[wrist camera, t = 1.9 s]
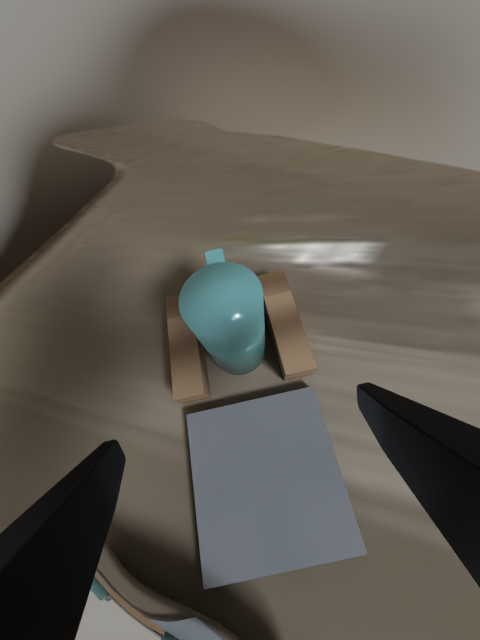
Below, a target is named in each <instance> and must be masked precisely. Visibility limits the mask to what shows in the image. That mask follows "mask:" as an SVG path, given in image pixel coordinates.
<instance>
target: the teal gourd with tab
mask: <svg viewBox="0 0 480 640" xmlns="http://www.w3.org/2000/svg"><path fill="white" fill-rule="evenodd" d="M205 255H206V261H207V266H204V267H202V268H200V269H199V270H197V271H196V272H195V273H193V274H192V275H191V276H190V277H189V278H188V279H187V281H186V282H185V283H184V285H183V287H182V289H181V292H180V295H179V311H180V314H181V316H182V318H183V320H184V321H185V323H186V324H187V325H188V327H189V328H190V329H191V331H192V332H193V333H194V335H195V336H196V337H197V338H198V340H199V341H200V342H201V344H202V345H203V346H204V348H205V349H206V350H207V352H208V353H209V354H210V355H211V357H212V358H213V359H214V361H215V362H216V363H217V365H218V366H219V367H220V368H221V369H222V370H224V371H226V372H228V373H230V374H235V375H241V374H246V373H249V372H251V371H253V370H254V369H256V368H257V367H258V366H259V365H260V363H261V362H262V360H263V358H264V356H265V350H266V346H265V323H264V299H263V289H262V285H261V282H260V281H259V279H258V277H257V276H256V275H255V274H254V273H253V272H252V271H251V270H250V269H248V268H246V267H245V266H243V265H240V264H237V263H232V262H226V261H225V257H224V253H223V249H222V248H220V249H215V250H211V251H207V252H205Z"/></svg>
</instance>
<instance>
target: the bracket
mask: <svg viewBox="0 0 480 640" xmlns="http://www.w3.org/2000/svg"><path fill="white" fill-rule="evenodd" d="M257 277H258V279H259V281H260V282H261V285H262V289H263V299H264V310H265V314H266V317H267V321H268V325H269V328H270V332H271V335H272V339H273V343H274V346H275V350H276V353H277V357H278V361H279V364H280V368H281V371H282V375H283V379H284V381H285V380H290V379H294V378H298V377H303V376H307V375H312V374H313V373H314V371H315V370H316V369H317V366H316V363H315V360H314V357H313V354H312V351H311V348H310V345H309V343H308V340H307V337H306V334H305V331H304V328H303V325H302V322H301V319H300V316H299V314H298V311H297V308H296V305H295V302H294V299H293V296H292V293H291V290H290V288H289V285H288V282H287V279H286V276H285V273H284V270H280V271H276V272H272V273H267V274H263V275H259V276H257ZM179 295H180V294H177V295H173V296H169V297H165V301H166V314H167V326H168V339H169V352H170V364H171V377H172V390H173V400H174V401H177V402H180V403H183V404H184V403H188V402H193V401H197V400H201V399H206V398H210V397H211V394H210V387H209V381H208V374H207V367H206V360H205V353H204V346H203V345H202V344H201V342H200V341H199V340H198V338H197V337H196V336H195V335H194V333H193V332H192V331H191V329H190V328H189V327H188V325H187V324H186V323H185V321H184V320H183V318H182V316H181V314H180V311H179Z"/></svg>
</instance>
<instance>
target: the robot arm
mask: <svg viewBox="0 0 480 640" xmlns="http://www.w3.org/2000/svg"><path fill="white" fill-rule="evenodd" d="M357 400H358V406H359V409H360V411H361V412H362V414H363V416H364V418H365V420H366V421H367V423H368V425H369V427H370V428H371V430H372V432H373V434H374V436H375V437H376V439H377V441H378V443H379V444H380V446H381V448H382V449H383V451H384V452H385V454H386V455H387V457H388V458H389V460H390V461H391V462H392V464H393V465H394V467H395V468H396V469H397V471H398V472H399V474H400V475H401V477H402V478H403V479H404V481H405V482H406V484H407V485H408V486H409V488H410V489H411V491H412V492H413V494H414V495H415V496H416V498H417V499H418V501H419V502H420V504H421V505H422V506H423V508H424V509H425V511H426V512H427V513H428V515H429V516H430V518H431V519H432V521H433V522H434V523H435V525H436V526H437V528H438V529H439V530H440V532H441V533H442V535H443V536H444V538H445V539H446V540H447V542H448V543H449V545H450V546H451V547H452V549H453V550H454V552H455V553H456V555H457V556H458V557H459V559H460V560H461V562H462V563H463V564H464V566H465V567H466V569H467V570H468V572H469V573H470V574H471V576H472V577H473V579H474V580H475V582H476V583H477V584H478V586H479V587H480V429H479V428H477V427H475V426H472V425H470V424H467V423H465V422H463V421H460V420H458V419H455V418H453V417H451V416H448V415H446V414H444V413H441V412H439V411H436V410H434V409H432V408H429V407H427V406H424V405H422V404H420V403H417V402H415V401H412V400H410V399H408V398H405V397H403V396H400V395H398V394H396V393H393V392H391V391H389V390H386V389H384V388H381V387H379V386H377V385H374V384H372V383H369V382H367V383H363V384H359V385H357ZM125 460H126V459H125V455H124V453H123V451H122V449H121V447H120V445H119V443H118V441H117V440H110V441H106V442H103V443H102V444H101V445H100V446H99V447H98V448H96V449H95V450H94V451H93V452H92V453H91V454H90V455H88V456H87V457H86V458H85V459H84V460H83V461H82V462H81V463H79V464H78V465H77V466H76V467H75V468H74V469H73V470H72V471H70V472H69V473H68V474H67V475H66V476H65V477H64V478H62V479H61V480H60V481H59V482H58V483H57V484H56V485H55V486H53V487H52V488H51V489H50V490H49V491H48V492H47V493H46V494H44V495H43V496H42V497H41V498H40V499H39V500H38V501H36V502H35V503H34V504H33V505H32V506H31V507H30V508H29V509H27V510H26V511H25V512H24V513H23V514H22V515H21V516H19V517H18V518H17V519H16V520H15V521H14V522H13V523H12V524H10V525H9V526H8V527H7V528H6V529H5V530H4V531H3V532H1V533H0V640H75V638H76V635H77V632H78V628H79V625H80V622H81V619H82V615H83V612H84V609H85V606H86V603H87V599H88V596H89V593H90V590H91V586H92V583H93V580H94V577H95V573H96V570H97V567H98V564H99V560H100V557H101V554H102V551H103V547H104V544H105V541H106V538H107V534H108V531H109V528H110V525H111V521H112V518H113V515H114V511H115V508H116V504H117V499H118V495H119V490H120V485H121V480H122V476H123V471H124V466H125Z"/></svg>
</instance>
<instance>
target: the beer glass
mask: <svg viewBox="0 0 480 640" xmlns="http://www.w3.org/2000/svg"><path fill="white" fill-rule="evenodd" d="M75 640H241V639H240V638H238V637H237V636H236V635H234V634H233V633H232V632H230V631H229V630H228V629H226V628H225V627H223V626H222V625H220V624H218V623H217V622H215V621H213V620H211V619H210V618H208V617H206V616H204V615H203V614H201V613H199V612H196V611H194V610H192V609H190V608H188V607H186V606H184V605H182V604H180V603H178V602H175V601H173V600H171V599H169V598H167V597H165V596H163V595H161V594H159V593H157V592H155V591H153V590H151V589H149V588H148V587H146V586H145V585H143V584H142V583H140V582H139V581H138V580H136V579H135V578H134V577H133V576H132V575H131V574H130V573H129V572H128V571H127V570H126V569H125V568H124V566H123V565H122V564H121V562H120V561H119V560H118V558H117V557H116V555H115V554H114V553H113V551H112V550H111V549H110V547H109V546H108V545H107V544H106V543H105V544H104V547H103V551H102V554H101V557H100V560H99V564H98V567H97V570H96V573H95V577H94V580H93V583H92V586H91V590H90V593H89V596H88V599H87V603H86V606H85V609H84V612H83V615H82V619H81V622H80V625H79V628H78V632H77V635H76V638H75Z"/></svg>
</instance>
